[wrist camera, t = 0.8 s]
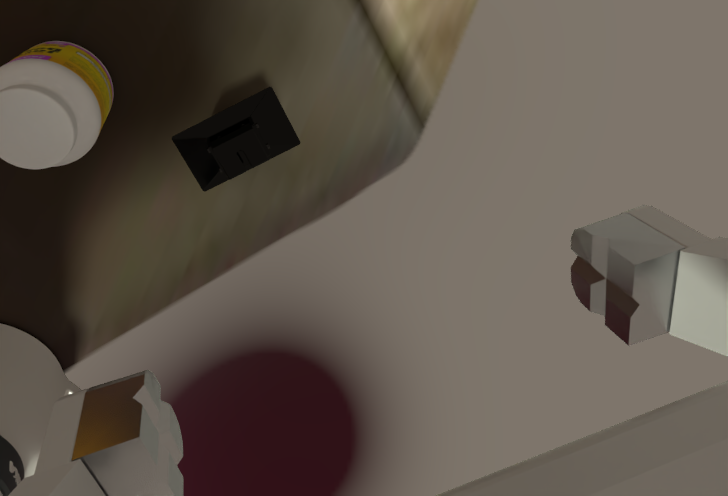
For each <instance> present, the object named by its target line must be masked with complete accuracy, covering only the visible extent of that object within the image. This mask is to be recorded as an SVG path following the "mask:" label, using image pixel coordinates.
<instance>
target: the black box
mask: <svg viewBox="0 0 728 496" xmlns="http://www.w3.org/2000/svg"><path fill="white" fill-rule="evenodd" d="M172 140H173V142H174V143H175V145H176V147H177V148H178V150H179V152H180V153H181V155H182V157H183V158H184V160H185V162H186V163H187V165H188V167H189V168H190V170H191V172H192V173H193V175H194V177H195V178H196V180H197V182H198V183H199V185H200V186H201V188H202V190H203V191H207V190H209V189H211V188H213V187H215V186H217V185H219V184H221V183H223V182H225V181H227V180H229V179H232V178H234V177H236V176H238V175H240V174H242V173H244V172H246V171H247V170H249V169H251V168H254V167H256V166H258V165H260V164H262V163H264V162H266V161H268V160H269V159H271V158H273V157H275V156H277V155H279V154H281V153H283V152H285V151H287V150H289V149H291V148H293V147H295V146H297V145H299V144H300V141H299V139H298V137H297V135H296V133H295V131H294V129H293V127H292V125H291V123H290V121H289V119H288V118H287V116H286V114H285V112H284V110H283V108H282V106H281V104H280V102H279V100H278V98H277V96H276V95H275V93H274V91H273V89H272V88H271V87H269V88H267V89H265V90H263V91H261V92H259V93H257V94H255V95H253V96H251V97H249V98H247V99H245V100H243V101H241V102H239V103H237V104H235V105H233V106H231V107H229V108H228V109H226V110H224V111H222V112H220V113H218V114H216V115H214V116H212V117H210V118H208V119H206V120H204V121H202V122H200V123H198V124H196V125H194V126H192V127H190V128H188V129H186V130H185V131H183V132H181V133H179V134H177V135H175V136H173V137H172Z"/></svg>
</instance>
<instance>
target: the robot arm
mask: <svg viewBox="0 0 728 496" xmlns="http://www.w3.org/2000/svg"><path fill="white" fill-rule="evenodd" d="M571 249H572V250H573V251H574V252H575V254H576V255H577V258H576V260H575V261H574V263H573V265H572V266H571V283H572V286H573V289H574V291H575V294H576V296H577V297H578V299H579V300H580V302H581V303H582V304H583V305H584V306H585V307H586V308H587V309H588V310H589V311H591V312H594V313H598V314H601V315H604V316H605V325H606V326H607V327H608V328H609V329H610V330H611V331H612V332H614V333H615V334H616V335H617V336H618V337H619V338H620V339H621V340H623V341H624V342H625V343H626V344H627V345H628V346H629V345H632V344H635V343H638V342H641V341H644V340H647V339H650V338H653V337H656V336H658V335H662V334H665V333H668V332H670V333H669V334H670V335H673V336H675V337H678V338H681V339H683V340H686V341H689V342H691V343H694V344H697V345H699V346H702V347H704V348H707V349H710V350H712V351H715V352H717V353H720V354H723V355H725V356H728V238H722V237H718V238H715V239H711V238H709V237H707V236H705V235H703V234H701V233H700V232H698V231H696V230H694V229H692V228H691V227H689V226H687V225H685V224H683V223H682V222H680V221H678V220H676V219H674V218H673V217H671V216H669V215H667V214H665V213H663V212H661V211H660V210H658V209H656V208H654V207H653V206H647V205H642V206H640V207H637V208H634V209H631V210H628V211H626V212H623V213H621V214H620V215H617V216H614V217H611V218H608V219H605V220H602V221H599V222H596V223H593V224H590V225H587V226H585V227H581V228H578V229H575V230H574V232H573V234H572V237H571ZM182 457H183V442H182V437H181V432H180V427H179V424H178V421H177V418H176V416H175V413H174V411H173V409H172V407H171V405H170V404H168V403H166V402H163V401H161V400H160V384H159V383H158V381H157V379H156V377H155V376H154V374H153V373H152V372H151V371H149V370H146V371H143V372H140V373H136V374H133V375H130V376H127V377H123V378H120V379H117V380H114V381H110V382H107V383H104V384H100V385H97V386H94V387H91V388H89V389H85V390H81V389H80V388H78V387H77V386H76V385H74V384H73V383H72V382H70V381H69V380H68V379H67V377H66V376H65V374H64V372H63V370H62V368H61V366H60V364H59V362H58V360H57V359H56V357H55V356H54V355H53V353H52V352H51V351H50V350H49V349H48V348H47V347H46V346H45V345H44V344H43V343H41V342H40V341H39V340H37V339H36V338H34V337H33V336H31V335H29V334H27V333H25V332H23V331H21V330H19V329H17V328H14V327H11V326H8V325H5V324H1V323H0V496H183V476H182V475H181V473H180V471H179V469H178V467H177V465H178V463H179V462H180V460H181V459H182ZM436 496H728V381H726V382H724V383H721V384H719V385H716V386H713V387H711V388H708V389H706V390H703V391H701V392H698V393H696V394H693V395H690V396H688V397H685V398H683V399H681V400H678V401H675V402H673V403H670V404H668V405H665V406H663V407H660V408H657V409H655V410H652V411H650V412H647V413H645V414H642V415H640V416H637V417H635V418H632V419H629V420H627V421H624V422H622V423H619V424H617V425H614V426H611V427H609V428H606V429H604V430H601V431H599V432H596V433H594V434H591V435H589V436H586V437H584V438H581V439H578V440H576V441H573V442H571V443H568V444H566V445H563V446H561V447H558V448H555V449H553V450H550V451H548V452H546V453H543V454H540V455H538V456H535V457H533V458H530V459H528V460H525V461H522V462H520V463H517V464H515V465H513V466H510V467H507V468H505V469H502V470H499V471H497V472H494V473H492V474H489V475H487V476H484V477H482V478H479V479H477V480H474V481H471V482H469V483H466V484H464V485H462V486H459V487H456V488H454V489H451V490H448V491H446V492H443V493H441V494H438V495H436Z"/></svg>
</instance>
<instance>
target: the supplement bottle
mask: <svg viewBox="0 0 728 496" xmlns="http://www.w3.org/2000/svg"><path fill="white" fill-rule="evenodd" d="M113 97H114V90H113V84H112V80H111V77H110V75H109V73H108V71H107V69H106V67H105V66H104V65H103V64H102V62H101V61H100V60H99V59H98V58H97V57H96V56H95V55H94V54H92V53H91V52H90V51H88V50H86V49H85V48H83V47H81V46H78V45H76V44H73V43H70V42H65V41H48V42H44V43H40V44H38V45H36V46H34V47H32V48H30V49H28V50H27V51H25V52H23V53H22V54H20V55H18V56H17V57H16V58H14V59H12V60H11V61H9V62H8V63H6V64H5V65H3V66H1V67H0V158H1V159H3V160H4V161H6V162H8V163H10V164H12V165H15V166H17V167H21V168H26V169H45V168H49V167H56V166H62V165H66V164H69V163H72V162H74V161H76V160H78V159H80V158H81V157H82V156H84V155H85V154H86V153H87V152H88V151H89V150H90V149H91V148H92V146H93V145H94V144H95V142H96V140H97V138H98V136H99V133H100V131H101V129H102V127H103V124H104V122H105V120H106V118H107V116H108V114H109V112H110V109H111V106H112V103H113Z"/></svg>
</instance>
